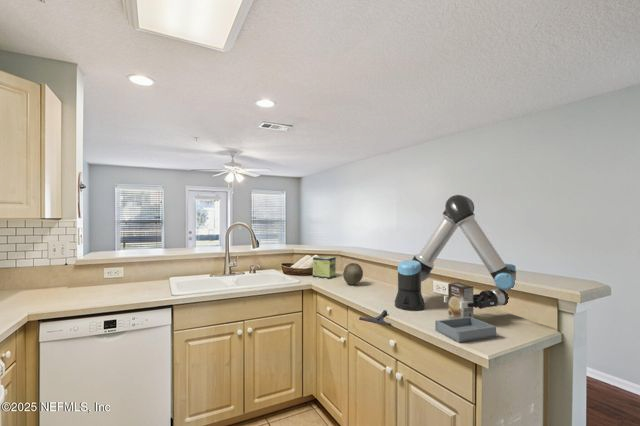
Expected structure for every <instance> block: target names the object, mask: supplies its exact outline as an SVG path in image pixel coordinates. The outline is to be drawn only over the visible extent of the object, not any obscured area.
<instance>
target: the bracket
mask: <svg viewBox="0 0 640 426" xmlns="http://www.w3.org/2000/svg"><path fill="white" fill-rule="evenodd" d="M387 315H388V310H386V309H384V310H382V312H381V313H380V315H378V316H376V317H369V318H367V317H362V316H359V319H358V320H359V321H363V322H369V323H373V324H378V325H384V326H388V327H390V326H392V323H390V322H388V321H387V322H386V321H385V320H384V317H385V316H387Z"/></svg>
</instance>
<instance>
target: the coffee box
mask: <svg viewBox="0 0 640 426" xmlns="http://www.w3.org/2000/svg"><path fill="white" fill-rule="evenodd" d="M447 289H448V293H447V296H448V302H447V305H448V306H447V308H448V310H447V316H448V318H447V319H453V318H462V317H473V318H474V307H472V308H463V309H461V308H460V302H464V301H473V295H474V286H472V285H468V284H465V283H461V282H452V283H451V282H449V283H448V285H447Z"/></svg>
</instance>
